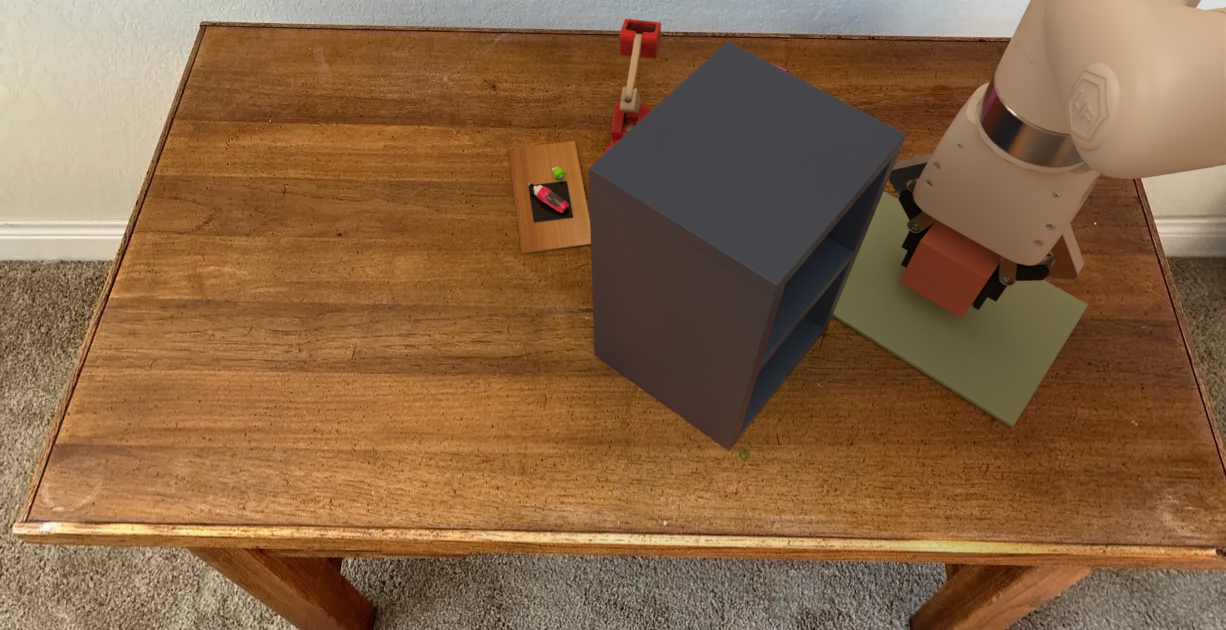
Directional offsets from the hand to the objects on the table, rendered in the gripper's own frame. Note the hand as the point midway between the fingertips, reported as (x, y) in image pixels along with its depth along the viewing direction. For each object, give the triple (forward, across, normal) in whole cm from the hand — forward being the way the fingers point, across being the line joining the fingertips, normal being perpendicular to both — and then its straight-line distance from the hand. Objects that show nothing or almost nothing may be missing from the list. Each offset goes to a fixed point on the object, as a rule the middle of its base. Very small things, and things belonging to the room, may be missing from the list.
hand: (948, 274), depth 69 cm
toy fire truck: (+3, +30, +3) cm, 30 cm away
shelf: (+3, +12, +15) cm, 19 cm away
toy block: (0, 0, 0) cm, 0 cm away
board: (+3, +32, +12) cm, 34 cm away
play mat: (+3, 0, 0) cm, 3 cm away
